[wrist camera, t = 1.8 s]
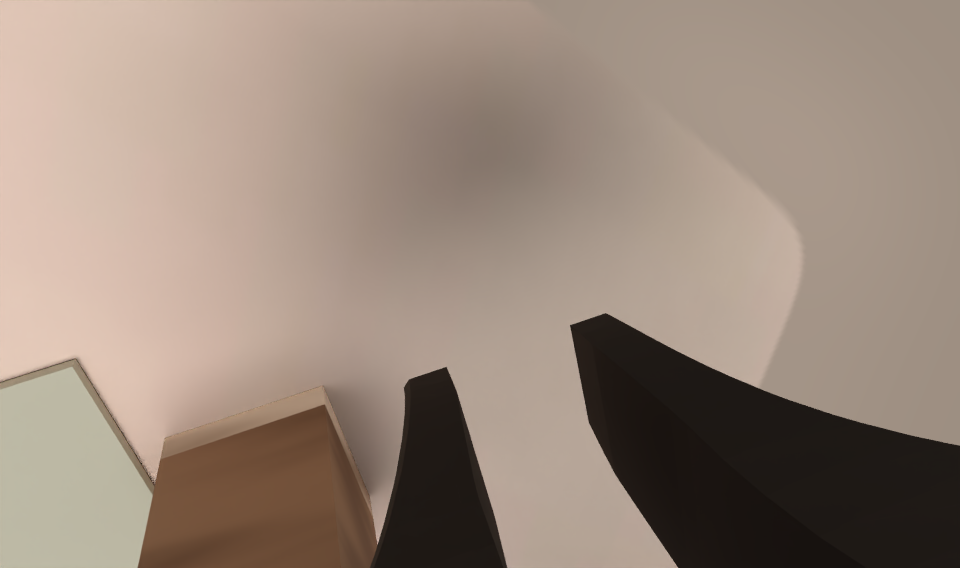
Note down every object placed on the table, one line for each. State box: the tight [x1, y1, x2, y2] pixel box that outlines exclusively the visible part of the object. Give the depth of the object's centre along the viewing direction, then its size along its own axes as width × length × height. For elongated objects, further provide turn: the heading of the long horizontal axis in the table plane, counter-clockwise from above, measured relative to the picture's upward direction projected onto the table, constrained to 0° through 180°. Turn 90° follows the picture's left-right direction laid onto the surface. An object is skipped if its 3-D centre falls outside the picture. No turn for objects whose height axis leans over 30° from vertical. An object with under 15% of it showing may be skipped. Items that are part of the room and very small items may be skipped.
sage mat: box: [0, 359, 155, 568], centre depth 23 cm, size 12×10×1 cm
